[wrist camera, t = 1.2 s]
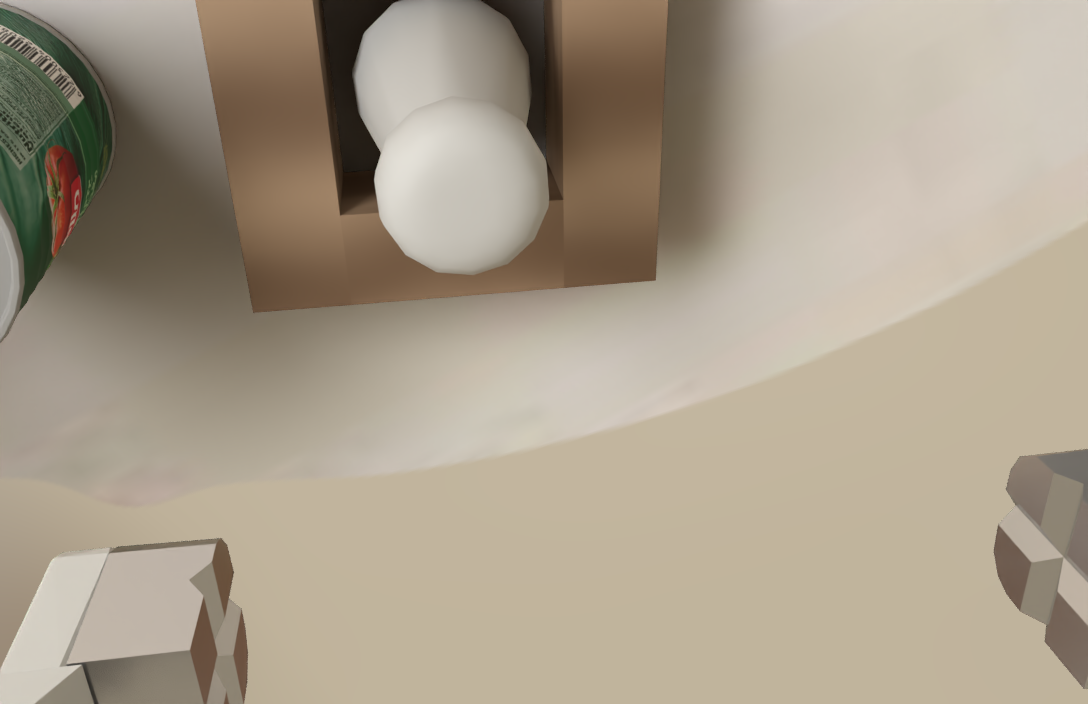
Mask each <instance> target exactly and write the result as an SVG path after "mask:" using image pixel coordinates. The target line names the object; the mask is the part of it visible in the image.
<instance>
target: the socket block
mask: <svg viewBox="0 0 1088 704" xmlns="http://www.w3.org/2000/svg"><path fill="white" fill-rule="evenodd" d="M195 1H196V6H197V12H198V17H199V22H200V28H201V33H202V39H203V44H204V49H205V55H206V60H207V65H208V71H209V76H210V82H211V87H212V92H213V98H214V103H215V109H216V114H217V119H218V125H219V130H220V135H221V141H222V146H223V152H224V157H225V162H226V168H227V173H228V179H229V184H230V189H231V195H232V200H233V206H234V211H235V216H236V222H237V227H238V232H239V238H240V243H241V249H242V254H243V259H244V265H245V270H246V276H247V281H248V286H249V292H250V297H251V302H252V308H253V313H254V312H267V311H279V310H292V309H304V308H317V307H329V306H342V305H354V304H367V303H379V302H392V301H404V300H417V299H429V298H442V297H454V296H467V295H479V294H492V293H504V292H517V291H529V290H542V289H554V288H567V287H579V286H592V285H604V284H617V283H629V282H641V281H654V280H656V260H657V238H658V216H659V194H660V171H661V149H662V127H663V105H664V83H665V60H666V38H667V16H668V0H544V45H545V109H546V159H545V160H546V164H547V176H548V189H549V207H548V209H547V212H546V214H545V216H544V219H543V221H542V223H541V226H540V228H539V230H538V232H537V235H536V237H535V239H534V240H533V241H532V242H531V243H530V244H529V245H528V246H527V247H526V248H525V249H524V250H523V251H521V252H520V253H519V254H518V255H517V256H516V257H515V258H514V259H513V260H512V261H511V262H510V263H508V264H506V265H503V266H500V267H497V268H494V269H491V270H487V271H484V272H481V273H478V274H475V275H466V274H452V273H438V272H435V271H434V270H432V269H430V268H428V267H426V266H425V265H423V264H421V263H419V262H417V261H416V260H414V259H412V258H410V257H408V256H407V255H405V254H404V252H403V251H402V250H401V248H400V247H399V245H398V244H397V243H396V241H395V240H394V239H393V237H392V236H391V235H390V233H389V232H388V231H387V229H386V228H385V227H384V225H383V223H382V221H381V219H380V217H379V210H378V203H377V196H376V189H375V183H374V178H375V171H376V170H374V171H359V172H343V165H342V157H341V149H340V141H339V133H338V125H337V117H336V109H335V101H334V93H333V85H332V77H331V69H330V60H329V52H328V44H327V36H326V28H325V20H324V12H323V4H322V0H195Z"/></svg>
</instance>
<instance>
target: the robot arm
mask: <svg viewBox="0 0 1088 704" xmlns="http://www.w3.org/2000/svg"><path fill="white" fill-rule="evenodd" d="M1006 490H1007V492H1008V494H1009V495H1010V497H1011V499H1012V500H1013V502H1014V503H1015V505H1016V506H1015V507H1014V508H1013V509H1012V510H1011V511H1010V512H1009V513H1008V514H1007V515H1006V517H1005V518H1004V519H1003V520H1002V521H1001V522H1000V523H999V524H998V529H997V534H996V540H995V546H994V555H995V561H996V567H997V573H998V577H999V579H1000V581H1001V583H1002V586H1003V588H1004V590H1005V592H1006V594H1007V595H1008V597H1009V598H1010V599H1011V600H1012V602H1013V603H1014V604H1015V605H1016V607H1017V608H1018V609H1019V611H1021V612H1022V613H1024V614H1026V615H1028V616H1030V617H1032V618H1035V619H1036V620H1038V621H1040V622H1042V623H1044V624H1046V634H1045V643H1046V644H1047V645H1048V646H1049V647H1050V649H1051V650H1052V651H1053V652H1054V653H1055V655H1056V656H1057V657H1058V658H1059V660H1060V661H1061V662H1062V663H1063V664H1064V666H1065V667H1066V668H1067V669H1068V670H1069V672H1070V673H1071V674H1072V675H1073V676H1074V678H1075V679H1076V680H1077V681H1078V682H1079V684H1080V685H1081V686H1082V687H1083V689H1088V449H1083V450H1074V451H1065V452H1056V453H1047V454H1038V455H1029V456H1020V457H1019V458H1018V460H1017V462H1016V463H1015V464H1014V466H1013V467H1012V468H1011V471H1010V475H1009V479H1008V483H1007V487H1006ZM233 574H234V571H233V567H232V563H231V559H230V555H229V551H228V547H227V544H226V543H225V542H224V541H223V540H222V538H217V539H206V540H193V541H181V542H169V543H158V544H157V543H156V544H144V545H133V546H121V547H116V548H100V549H90V550H80V551H70V552H62V553H61V554H59V555H58V556H56V557H55V558H53V560H52V561H51V562H50V564H49V567H48V569H47V571H46V573H45V575H44V577H43V580H42V581H41V584H40V586H39V588H38V590H37V592H36V595H35V597H34V599H33V601H32V603H31V605H30V607H29V609H28V611H27V613H26V615H25V618H24V620H23V622H22V624H21V626H20V628H19V631H18V633H17V635H16V637H15V639H14V641H13V643H12V645H11V648H10V650H9V652H8V654H7V656H6V659H5V660H4V663H3V665H2V667H1V669H0V704H244V700H245V694H246V687H247V669H248V649H247V640H246V630H245V624H244V619H243V614H242V609H241V608H240V607H239V606H238V605H236V604H235V603H234V602H233V601H232V600H230V599H229V595H230V589H231V584H232V579H233Z"/></svg>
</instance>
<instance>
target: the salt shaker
mask: <svg viewBox="0 0 1088 704" xmlns="http://www.w3.org/2000/svg"><path fill="white" fill-rule="evenodd" d="M352 76H353V83H354V89H355V95H356V102H357V108H358V113H359V115H360V116H361V118H362V120H363V122H364V124H365V125H366V127H367V129H368V131H369V132H370V134H371V136H372V138H373V140H374V141H375V143H376V145H377V147H378V148H379V150H380V152H381V155H380V158H379V161H378V165H377V168H376V171H375V178H374V183H375V189H376V196H377V203H378V210H379V217H380V219H381V221H382V223H383V225H384V227H385V228H386V229H387V231H388V232H389V233H390V235H391V236H392V237H393V239H394V240H395V241H396V243H397V244H398V245H399V247H400V248H401V250H402V251H403V252H404V254H405V255H407V256H408V257H410V258H412V259H414V260H416V261H417V262H419V263H421V264H423V265H425V266H426V267H428V268H430V269H432V270H434V271H435V272H438V273H452V274H466V275H475V274H478V273H481V272H484V271H487V270H491V269H494V268H497V267H500V266H503V265H506V264H508V263H510V262H511V261H512V260H513V259H514V258H515V257H516V256H517V255H518V254H519V253H520V252H521V251H523V250H524V249H525V248H526V247H527V246H528V245H529V244H530V243H531V242H532V241H533V240H534V239H535V237H536V235H537V232H538V230H539V228H540V226H541V223H542V221H543V219H544V216H545V214H546V212H547V209H548V207H549V189H548V176H547V164H546V160H545V158H544V156H543V154H542V153H541V151H540V149H539V148H538V146H537V144H536V142H535V141H534V139H533V137H532V136H531V134H530V132H529V130H528V129H527V127H526V125H527V120H528V114H529V108H530V102H531V96H532V90H531V80H530V69H529V58H528V53H527V52H526V50H525V48H524V46H523V44H522V42H521V40H520V39H519V37H518V35H517V33H516V31H515V29H514V28H513V26H512V24H511V22H510V20H509V19H508V18H507V17H505V16H504V15H502V14H501V13H499V12H497V11H496V10H494V9H493V8H491V7H490V6H488V5H487V4H485V3H484V2H482V1H481V0H399V1H397V2H394V3H393V4H392V5H391V6H390V7H389V8H388V9H387V10H386V11H385V12H384V13H383V14H382V15H381V16H380V17H379V18H378V19H377V20H376V21H375V22H374V23H373V24H372V25H371V26H370V27H369V28H368V29H367V30H366V31H365V32H364V34H363V38H362V41H361V44H360V47H359V51H358V54H357V57H356V61H355V64H354V67H353V71H352Z"/></svg>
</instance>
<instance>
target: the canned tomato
mask: <svg viewBox="0 0 1088 704" xmlns="http://www.w3.org/2000/svg"><path fill="white" fill-rule="evenodd" d="M115 149H116V124H115V120H114V115H113V111H112V106H111V102H110V100H109V98H108V95H107V93H106V91H105V89H104V86H103V84H102V82H101V80H100V78H99V77H98V75H97V74H96V72H95V71H94V69H93V68H92V66H91V65H90V63H89V62H88V60H87V59H86V58H85V57H84V56H83V55H82V54H81V53H80V52H79V51H78V50H77V49H76V47H75V46H74V45H73V44H72V43H71V42H70V41H69V40H68V39H66V38H65V37H64V36H62V35H61V34H60V33H59V32H57V31H56V30H55V29H53V28H52V27H51V26H49V25H48V24H47V23H45V22H43V21H41V20H39V19H37V18H35V17H34V16H32V15H30V14H28V13H26V12H24V11H22V10H19V9H17V8H14V7H11V6H8V5H5V4H2V3H0V343H1V342H2V340H3V339H4V338H5V337H6V336H7V334H8V333H9V331H10V329H11V327H12V325H13V323H14V320H15V318H16V316H17V314H18V313H19V311H20V310H21V309H22V308H23V306H24V305H25V304H26V303H27V301H28V298H29V296H30V295H31V294H32V293H33V291H34V290H35V288H36V286H37V284H38V283H39V281H40V280H41V279H42V278H43V276H44V274H45V272H46V270H47V269H48V268H49V267H50V265H51V263H52V261H53V259H54V258H55V257H56V256H57V254H58V252H59V250H60V248H61V247H62V246H63V245H64V243H65V241H66V239H67V238H68V236H69V235H70V234H71V232H72V230H73V228H74V227H75V226H76V225H77V223H78V221H79V219H80V218H81V216H82V215H83V214H84V212H85V210H86V208H87V207H88V206H89V205H90V203H91V200H92V198H93V197H94V196H95V195H96V194H97V192H98V191H99V190H100V189H101V188H102V186H103V184H104V182H105V180H106V178H107V176H108V174H109V172H110V170H111V167H112V162H113V158H114V153H115Z"/></svg>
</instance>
